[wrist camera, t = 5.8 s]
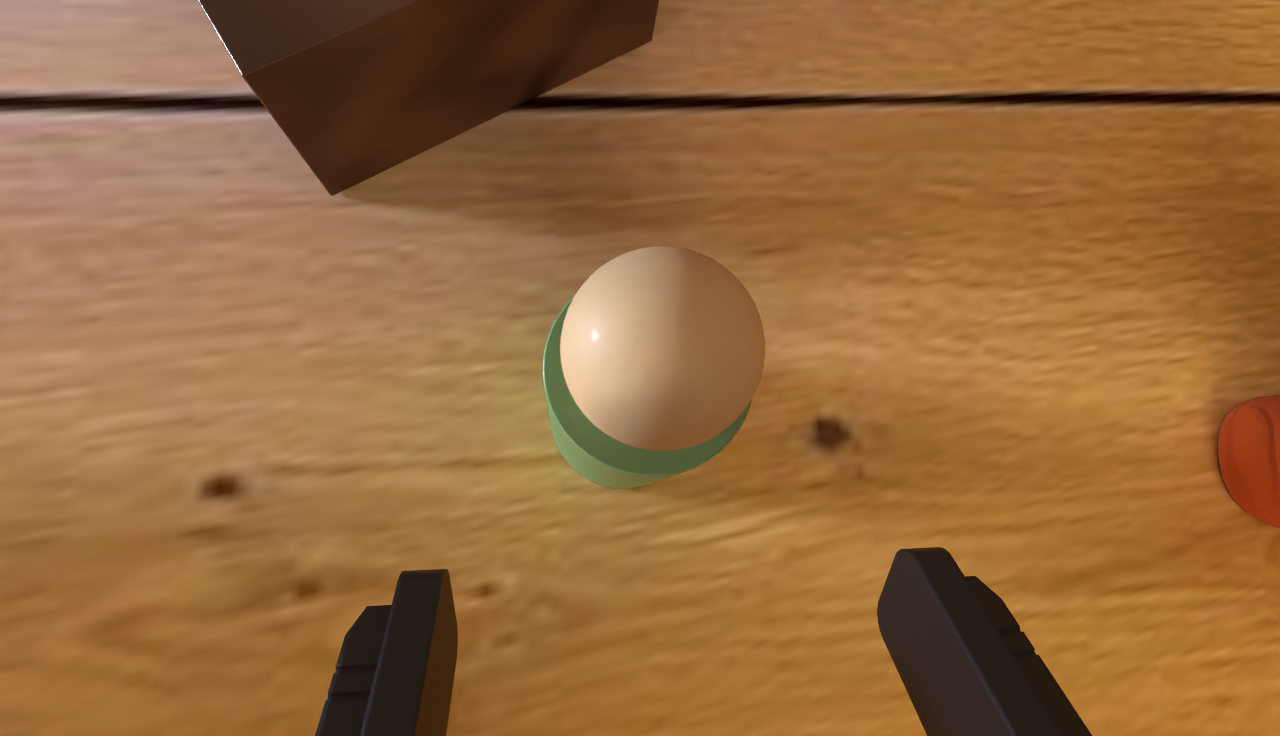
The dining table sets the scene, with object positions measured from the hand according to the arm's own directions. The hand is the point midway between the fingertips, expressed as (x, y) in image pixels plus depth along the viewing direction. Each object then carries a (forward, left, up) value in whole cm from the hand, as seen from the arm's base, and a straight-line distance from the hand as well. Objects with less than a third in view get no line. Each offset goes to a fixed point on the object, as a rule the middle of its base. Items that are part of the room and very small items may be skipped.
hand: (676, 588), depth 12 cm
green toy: (+2, +4, -10) cm, 11 cm away
